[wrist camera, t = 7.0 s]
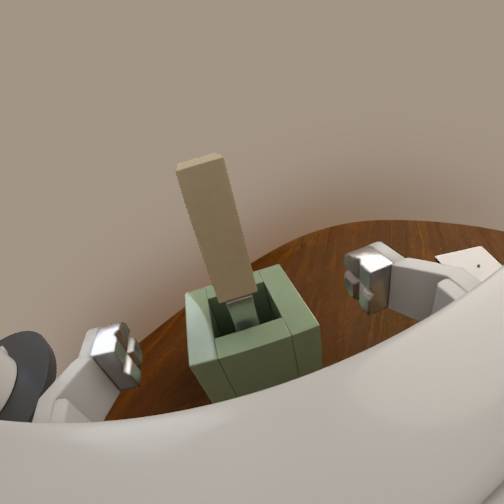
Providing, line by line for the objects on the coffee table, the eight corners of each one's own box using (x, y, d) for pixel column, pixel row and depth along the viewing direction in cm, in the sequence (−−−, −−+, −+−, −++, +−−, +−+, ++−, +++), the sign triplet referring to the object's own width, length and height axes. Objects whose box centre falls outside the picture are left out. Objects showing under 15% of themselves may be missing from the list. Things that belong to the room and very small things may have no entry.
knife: (249, 382, 20) (175, 171, 12) (240, 351, 23) (177, 163, 15) (279, 373, 20) (224, 157, 13) (267, 342, 23) (216, 151, 16)
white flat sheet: (480, 246, 26) (481, 240, 26) (515, 280, 19) (517, 274, 19) (434, 256, 27) (435, 250, 27) (468, 297, 20) (469, 290, 20)
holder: (219, 414, 17) (188, 366, 15) (207, 343, 24) (184, 292, 22) (323, 380, 18) (320, 324, 15) (289, 317, 25) (279, 263, 23)
